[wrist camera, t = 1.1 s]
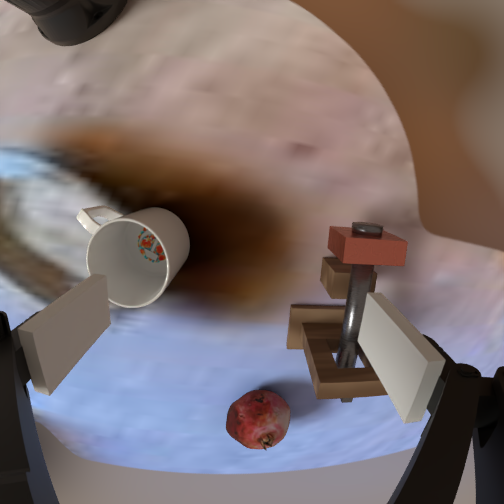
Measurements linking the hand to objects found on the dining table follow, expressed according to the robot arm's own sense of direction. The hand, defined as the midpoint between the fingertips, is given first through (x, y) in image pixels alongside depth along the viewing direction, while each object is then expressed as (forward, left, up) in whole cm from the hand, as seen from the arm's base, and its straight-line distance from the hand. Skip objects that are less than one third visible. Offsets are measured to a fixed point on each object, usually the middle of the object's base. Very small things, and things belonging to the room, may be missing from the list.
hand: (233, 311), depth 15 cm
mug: (+1, -12, -25) cm, 28 cm away
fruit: (+27, +3, -25) cm, 37 cm away
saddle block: (+5, +12, -25) cm, 28 cm away
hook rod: (+7, +12, -20) cm, 24 cm away
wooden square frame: (+13, +12, -25) cm, 30 cm away
